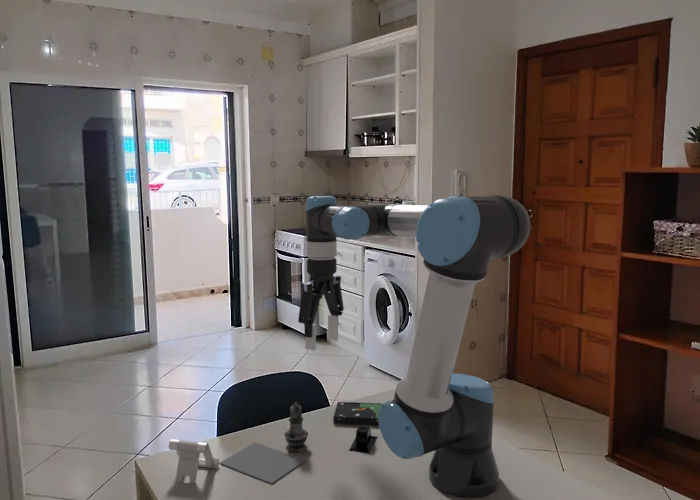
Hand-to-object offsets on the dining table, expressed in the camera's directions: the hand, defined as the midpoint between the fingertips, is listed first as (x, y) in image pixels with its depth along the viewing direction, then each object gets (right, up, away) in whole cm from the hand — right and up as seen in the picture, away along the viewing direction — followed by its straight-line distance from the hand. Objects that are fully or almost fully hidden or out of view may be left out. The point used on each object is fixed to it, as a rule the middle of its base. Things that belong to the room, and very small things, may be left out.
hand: (322, 344), depth 147 cm
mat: (-13, -26, -13) cm, 32 cm away
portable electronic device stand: (-28, -27, -17) cm, 42 cm away
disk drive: (+10, -23, +12) cm, 28 cm away
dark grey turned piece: (-6, -25, -6) cm, 26 cm away
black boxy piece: (+11, -25, -4) cm, 27 cm away
